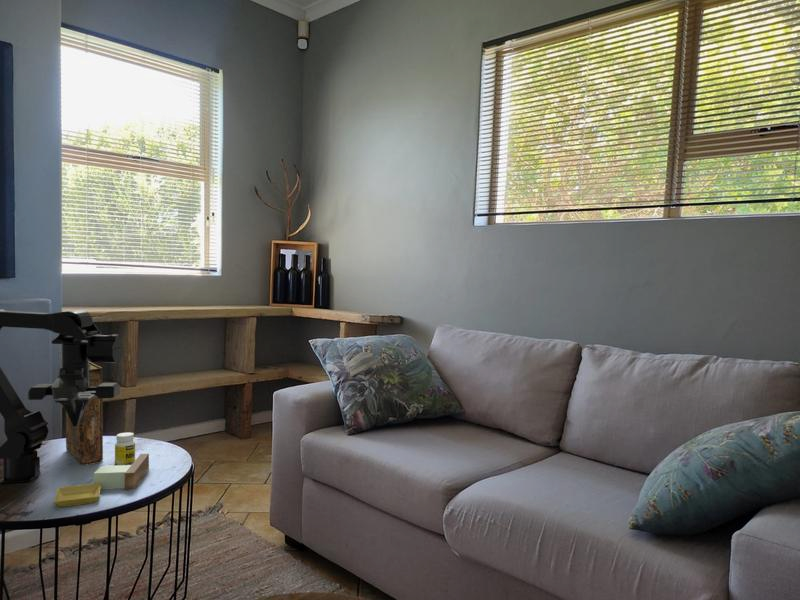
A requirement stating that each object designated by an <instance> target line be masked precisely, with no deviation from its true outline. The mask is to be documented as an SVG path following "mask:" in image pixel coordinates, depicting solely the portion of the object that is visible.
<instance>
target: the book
mask: <svg viewBox="0 0 800 600" xmlns="http://www.w3.org/2000/svg"><path fill="white" fill-rule="evenodd" d="M89 364H90V369H89V381H90V385H89V387H97V386H98V385H100V384H102V383H103V367H102V366H100V365H97V363H96V364H95V363H94V362H92V361H89ZM94 395H95V398H93V399H92V400H90V401H89V403H88V404H87V406H86V408H85V410H84V413H83V415H82V418H81V420H80V422H79V425H78V426H77V427H73V425H72V423H71V420H70V418H69V416H68V413H67V411H66V410H65V448H66V451H67V453H68V454H69V455H70V456H71V457H72V458H73V459H74V460H75V461H76V462H77V463H78V464H79V465H80V466H85V465H86V464H88V465H93V463H94V464H98V463H101V462H103V461H102V460H104V452H103V451H104V449H103V448H104V445H103V444H104V443H103V442H104V439H103V437H104V435H103V433H104V432H103V431H104V430H103V429H104V426H103V423H104V422H103V421H104V420H103V419H104V416H103V412H104V411H103V406H104V405H103V404H104V403H103V399H104V398H98V397H97V396H96V394H94ZM77 399H78V395H77ZM100 461H101V462H100ZM97 462H98V463H97Z"/></svg>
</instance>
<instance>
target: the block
mask: <svg viewBox="0 0 800 600" xmlns="http://www.w3.org/2000/svg"><path fill="white" fill-rule="evenodd" d="M130 466H131V465H116V466H115V465H101V466H99V467H98V469H96V470H95V471H94V473H93V484H94V483H101V488H100V490H107V489H108V490H110V489H112V490H114V489H115V488H116V489H125V472H126V471H127V470H128V469H129V467H130Z"/></svg>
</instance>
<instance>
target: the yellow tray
mask: <svg viewBox="0 0 800 600" xmlns="http://www.w3.org/2000/svg"><path fill="white" fill-rule="evenodd" d="M100 488H101V483H94V482H93V483H88V484H87V483H86V484H79V485H77V484H76V485H70V486H61V487H58V488H57V490H56V494H55V496H54V500H53V502H54V503H55V504H56V505H57V506H59V507H60V508H63V507H71V506H78V505H84V504H85V505H86V504H92V503H96V502H97V500H98V499H99V498H100V496H101V489H100Z"/></svg>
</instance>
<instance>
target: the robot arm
mask: <svg viewBox="0 0 800 600" xmlns="http://www.w3.org/2000/svg"><path fill="white" fill-rule="evenodd" d="M3 328H21V329H22V328H23V329H37V330H39V329H41V330H47V331H49V332H52V333H55V334H58V335H57V337H56V338H54V339H53V340H52V341H51V344H52V345H61V367H60V368H59V372H58V375H57V376H58V377H57V378H56V379H55V381H54V382H53V383H38V384H36V385H33V386H32V387H31V388H29V390H28V393H27V396H28V397H27V400H29V401H30V400H31V401H37V400H38V401H39V400H40V401H41V400H43V399H44V398H46V396H52V397H53V399H54V402H55V403H58V404H60V405H61V406H62V407H63V409H64V410H65V412H66V411H67V413H68V416H69V418H70V420H71V423H72V425H73V427H77V426H78V425H79V422H80V420H81V418H82V415H83V413H84V410H85V408H86V406H87V404H88V403H89V401H90V400H92V399H93V398H95V395H94V394H96V396H97V397H98V398H103V399H115V397H116V396H117V397H118V395H119V394H121V386H120V384H119V383H118V382H102V384H100V385H98V386H97V387H89V385H90V381H89V369H90V364H89V362H91V363H94V364H95V363H96V364H98V363H102V364H103V363H104V364H106V363H107V364H119V363H120V362H121V361H122V358H123V356H124V347H123V343H122V341H121V339H120V336H119V334H108V335H105V334H103V333H102V332H101V331H100V330H99V328H98V327H97V325H96V324H95V323H94V322H93V316H91V313H90V312H89V311H87V310H84V309H77V310H76V309H75V310H67V311H59V312H38V311H37V312H36V311H21V310H19V311H18V310H6V309H2V308H1V309H0V332H1V331H2V329H3ZM89 360H90V361H89ZM77 395H78V399H77ZM0 415H1V417H2V418H3V422H4V424H3V425H4V426H3V427H4V430H3V432H4V433H3V434H4V436H5V438H6V441H5V442H4V443H3V444H1V445H0V460H2V464H3V465H2V468H3V469H2V470H3V477H2V479H0V484H10V483H11V484H13V483H29V482H31V481H32V480H33V479H35V478H36V477H38V476H39V475H40V474H42V473H41V468H40V467H41V466H40V465H41V464H40V462H41V461H40V460H41V459H40V456H38V449H41V448H42V444H43V442H44V441H46V439H47V438H48V435H49V427H48V425H49V423H48V422H47V421H46V420H45V419H44V417H43V414H42V412H41V411H40V410H37V411H34V412H33V411H31V410H28V409H27V407H25V405H24V403H23V402H22V400H21V399H20V396H19V395H18V394H17V392H16V390H15V389H14V386H12V384H11V382H10V381H9V379H8V378H7V376H6V375H5V373H4V371H3V369H2V368H1V367H0Z"/></svg>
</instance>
